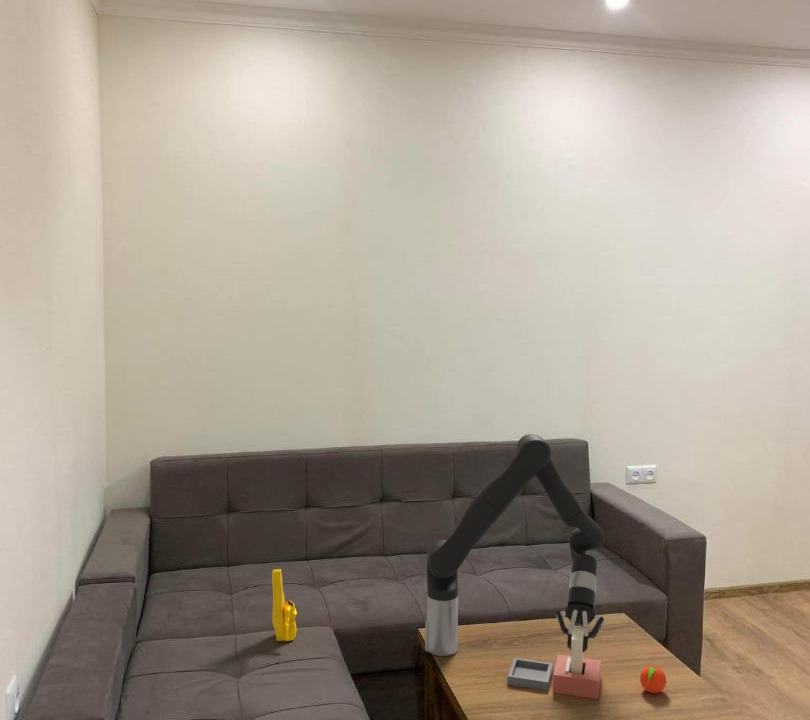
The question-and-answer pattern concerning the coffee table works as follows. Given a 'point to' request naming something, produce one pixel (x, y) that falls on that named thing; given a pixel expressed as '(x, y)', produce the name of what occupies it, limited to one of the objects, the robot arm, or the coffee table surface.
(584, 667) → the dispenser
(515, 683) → the tray
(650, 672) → the clementine
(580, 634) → the tall beige block
